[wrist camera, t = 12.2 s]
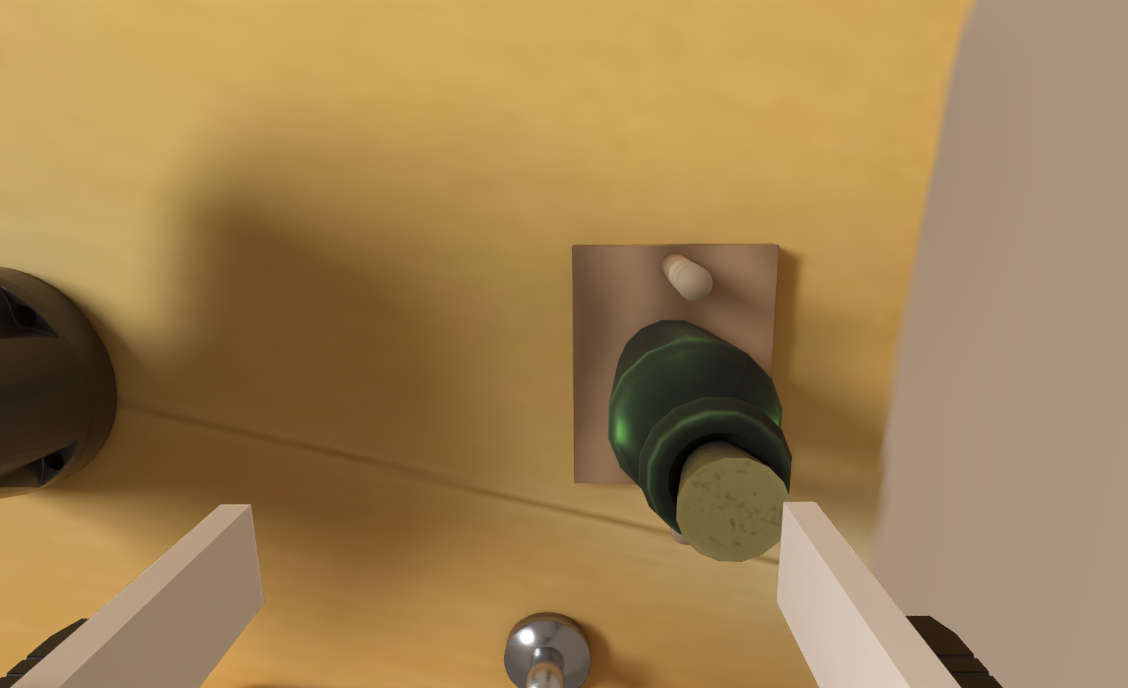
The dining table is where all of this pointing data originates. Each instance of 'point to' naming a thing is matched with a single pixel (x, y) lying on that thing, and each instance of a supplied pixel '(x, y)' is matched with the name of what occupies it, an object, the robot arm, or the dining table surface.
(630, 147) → the dining table surface
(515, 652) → the ring nut stud
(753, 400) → the potion bottle
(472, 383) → the dining table surface
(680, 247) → the rack
